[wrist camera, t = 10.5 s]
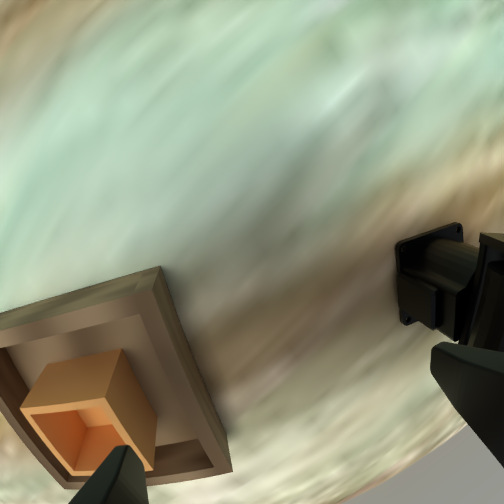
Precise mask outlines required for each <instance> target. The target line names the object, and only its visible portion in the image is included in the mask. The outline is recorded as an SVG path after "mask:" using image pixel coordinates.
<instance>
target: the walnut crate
mask: <svg viewBox="0 0 504 504" xmlns="http://www.w3.org/2000/svg"><path fill="white" fill-rule="evenodd" d="M120 348H122V350H123V352H124V354H125V356H126V358H127V360H128V362H129V364H130V367H131V369H132V371H133V373H134V375H135V377H136V379H137V381H138V382H139V384H140V386H141V388H142V390H143V392H144V394H145V396H146V398H147V400H148V401H149V403H150V405H151V407H152V409H153V410H154V412H155V414H156V416H157V417H158V418H157V430H156V442H155V456H154V470H152V471H145V477H146V486H153V485H161V484H169V483H176V482H183V481H189V480H195V479H201V478H206V477H211V476H216V475H221V474H225V473H230V472H233V469H232V464H231V458H230V453H229V447H228V441H227V435H226V432H225V430H224V428H223V426H222V423H221V421H220V419H219V417H218V415H217V412H216V410H215V408H214V406H213V403H212V401H211V399H210V396H209V394H208V392H207V389H206V387H205V385H204V382H203V380H202V377H201V375H200V373H199V370H198V368H197V365H196V363H195V360H194V358H193V355H192V353H191V350H190V347H189V345H188V342H187V340H186V337H185V334H184V332H183V329H182V326H181V324H180V321H179V318H178V316H177V313H176V310H175V307H174V305H173V302H172V299H171V296H170V293H169V290H168V287H167V284H166V282H165V279H164V276H163V273H162V270H161V267H160V266H158V267H154V268H151V269H147V270H144V271H140V272H137V273H133V274H130V275H126V276H123V277H120V278H116V279H113V280H109V281H106V282H103V283H99V284H96V285H92V286H89V287H86V288H82V289H79V290H75V291H72V292H69V293H65V294H62V295H59V296H55V297H52V298H49V299H45V300H42V301H39V302H35V303H32V304H29V305H25V306H22V307H19V308H16V309H12V310H9V311H6V312H2V313H0V411H1V413H2V414H3V415H4V417H5V418H6V420H7V421H8V423H9V424H10V425H11V427H12V428H13V429H14V431H15V432H16V433H17V435H18V436H19V437H20V439H21V440H22V441H23V443H24V444H25V445H26V446H27V448H28V449H29V450H30V451H31V452H32V454H33V455H34V456H35V457H36V458H37V460H38V461H39V462H40V463H41V464H42V465H43V467H44V468H45V469H46V470H47V471H48V472H49V473H50V474H51V475H52V476H53V478H54V479H55V480H56V481H57V482H58V483H59V484H60V485H61V486H62V487H63V488H64V489H81V488H82V486H83V485H84V484H85V483H86V481H87V480H88V479H89V478H90V477H91V476H72V475H71V474H70V473H69V472H68V471H67V469H66V468H65V467H64V466H63V465H62V464H61V463H60V461H59V460H58V459H57V458H56V457H55V455H54V454H53V453H52V452H51V450H50V449H49V448H48V447H47V445H46V444H45V443H44V442H43V440H42V439H41V438H40V436H39V435H38V434H37V432H36V431H35V430H34V428H33V427H32V426H31V424H30V423H29V421H28V420H27V419H26V417H25V416H24V414H23V413H22V411H21V410H20V407H21V405H22V403H23V402H24V400H25V398H26V397H27V395H28V394H29V392H30V390H31V389H32V387H33V385H34V384H35V382H36V381H37V379H38V378H39V376H40V374H41V373H42V371H43V370H44V368H45V367H46V365H47V364H50V363H55V362H60V361H65V360H70V359H75V358H80V357H84V356H89V355H94V354H98V353H103V352H107V351H112V350H116V349H120Z"/></svg>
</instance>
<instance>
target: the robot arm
mask: <svg viewBox="0 0 504 504" xmlns="http://www.w3.org/2000/svg"><path fill="white" fill-rule="evenodd" d="M456 229H457V231H456ZM479 242H480V247H479V248H477V247H474V246H471V245H468V244H465V243H463V227H462V225H461V224H460V223H457V222H455V223H452V224H449V225H446V226H443V227H440V228H437V229H435V230H432V231H429V232H426V233H423V234H420V235H417V236H414V237H411V238H408V239H405V240H402V241H400V242H398V243H397V245H396V249H395V251H396V261H397V272H398V274H397V287H398V304H399V307H400V321H401V323H402V324H404V325H406V326H407V325H410V324H412V323H415V322H417V321H420V322H421V323H423V324H424V325H425V326H427V327H428V328H430V329H431V330H433V331H434V330H435V329H437V330H439V331H440V332H442V333H443V334H444V335H446V336H447V337H449V338H450V339H452V340H453V341H454V342H456V341H458V340H459V342H458V344H454V343H449V342H441V343H439V344H437V345H435V346H434V347H433V348H432V350H431V362H430V371H431V374H432V375H433V377H434V378H435V380H436V381H437V383H438V384H439V386H440V387H441V389H442V390H443V392H444V393H445V395H446V396H447V398H448V399H449V401H450V402H451V404H452V405H453V406H454V408H455V409H456V410H457V412H458V413H459V414H460V415H461V416H462V418H463V419H464V420H465V421H466V422H467V424H468V425H469V426H470V427H471V428H472V430H473V431H474V432H475V433H476V434H477V436H478V437H479V438H480V439H481V440H482V442H483V443H484V444H485V445H486V446H487V448H488V449H489V450H490V451H491V453H492V454H493V455H494V456H495V457H496V459H497V460H498V461H499V463H500V464H501V465H502V466H503V468H504V234H498V233H480V237H479ZM403 246H404V250H403V251H401V250H402V247H403ZM407 317H408V319H407V320H406V318H407ZM68 504H149V501H148V494H147V486H146V477H145V469H144V465H143V463H142V461H141V459H140V458H139V457H138V455H137V454H136V453H135V451H134V450H133V448H132V447H131V446H130V445H119V446H115V447H114V448H113V450H112V451H111V452H110V453H109V454H108V456H107V457H106V458H105V459H104V461H103V462H102V463H101V464H100V466H99V467H98V468H97V469H96V470H95V472H94V473H93V474H92V475H91V477H90V478H89V479H88V480H87V481H86V483H85V484H84V485H83V486H82V488H81V489H80V490H79V491H78V492H77V494H76V495H75V496H74V497H73V499H72V500H71V501H70V502H69V503H68Z"/></svg>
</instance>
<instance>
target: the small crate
mask: <svg viewBox="0 0 504 504" xmlns="http://www.w3.org/2000/svg"><path fill="white" fill-rule="evenodd" d="M20 410H21V411H22V413H23V414H24V416H25V417H26V419H27V420H28V421H29V423H30V424H31V426H32V427H33V428H34V430H35V431H36V432H37V434H38V435H39V436H40V438H41V439H42V440H43V442H44V443H45V444H46V445H47V447H48V448H49V449H50V450H51V452H52V453H53V454H54V455H55V457H56V458H57V459H58V460H59V461H60V463H61V464H62V465H63V466H64V467H65V468H66V469H67V471H68V472H69V473H70V474H71V475H72V476H91V475H92V474H93V473H94V472H95V470H96V469H97V468H98V467H99V466H100V464H101V463H102V462H103V461H104V459H105V458H106V457H107V456H108V454H109V453H110V452H111V451H112V450H113V448H114V447H115V446H119V445H130V446H131V447H132V448H133V450H134V451H135V453H136V454H137V455H138V457H139V458H140V459H141V461H142V463H143V465H144V469H145V471H152V470H154V456H155V442H156V430H157V418H158V417H157V416H156V414H155V412H154V410H153V409H152V407H151V405H150V403H149V401H148V400H147V398H146V396H145V394H144V392H143V390H142V388H141V386H140V384H139V382H138V381H137V379H136V377H135V375H134V373H133V371H132V369H131V367H130V364H129V362H128V360H127V358H126V356H125V354H124V352H123V350H122V348H120V349H116V350H112V351H107V352H103V353H98V354H94V355H89V356H84V357H80V358H75V359H70V360H65V361H60V362H55V363H50V364H47V365H46V367H45V368H44V370H43V371H42V373H41V374H40V376H39V378H38V379H37V381H36V382H35V384H34V385H33V387H32V389H31V390H30V392H29V394H28V395H27V397H26V398H25V400H24V402H23V403H22V405H21V407H20Z"/></svg>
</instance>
